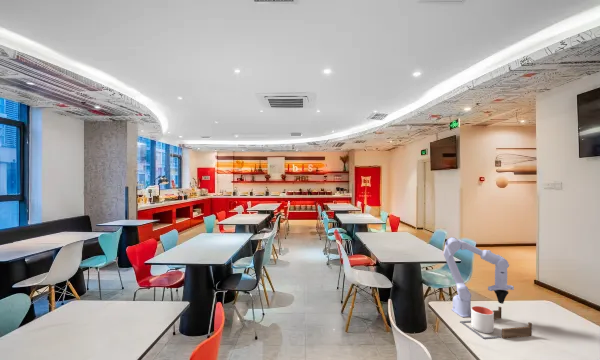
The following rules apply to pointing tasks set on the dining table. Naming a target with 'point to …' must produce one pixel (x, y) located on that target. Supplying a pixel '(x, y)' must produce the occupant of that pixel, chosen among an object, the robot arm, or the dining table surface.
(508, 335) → the wooden pieces
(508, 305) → the dining table surface
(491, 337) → the bracket
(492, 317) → the cup
